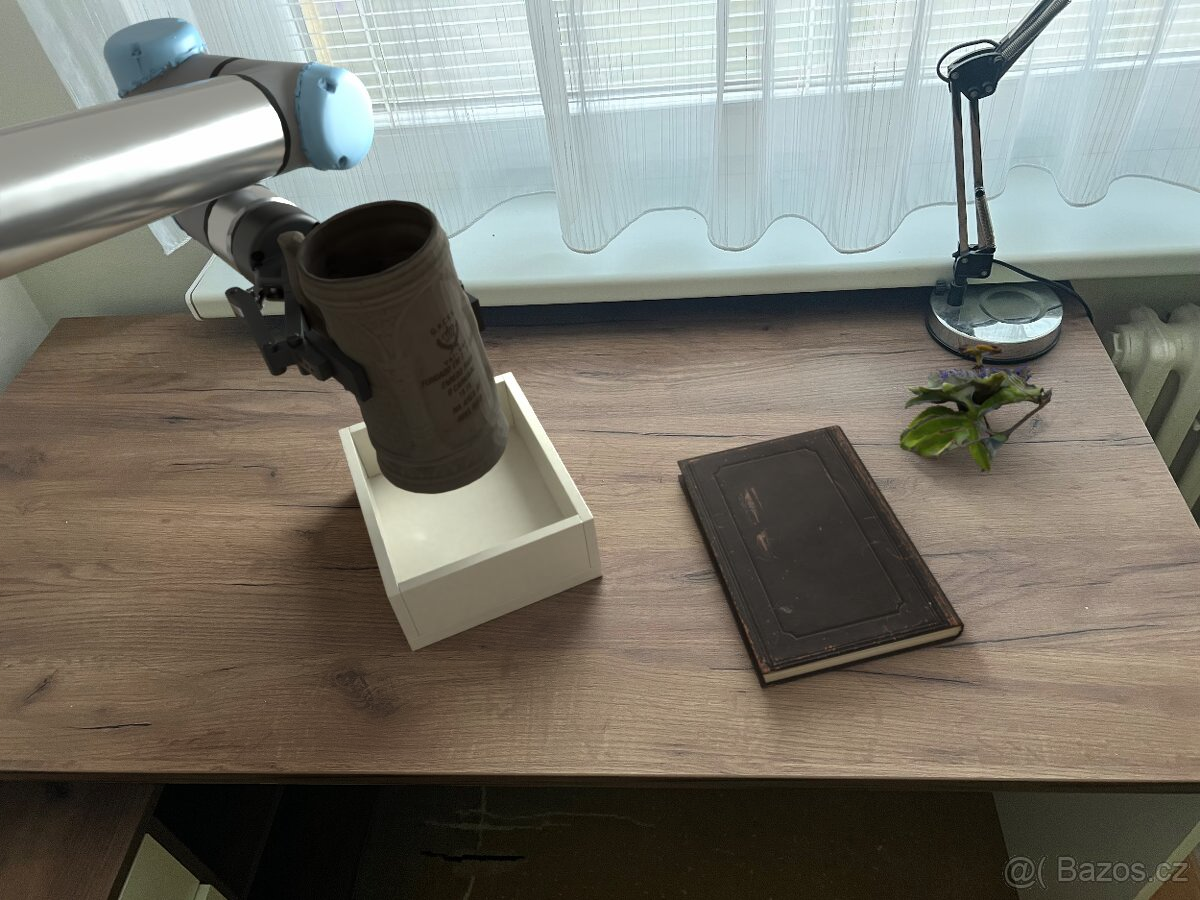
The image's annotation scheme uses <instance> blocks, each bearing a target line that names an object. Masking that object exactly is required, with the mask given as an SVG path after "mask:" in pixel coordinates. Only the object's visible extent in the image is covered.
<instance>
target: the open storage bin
mask: <svg viewBox="0 0 1200 900" xmlns="http://www.w3.org/2000/svg"><path fill="white" fill-rule="evenodd" d="M494 379H495V382H496V386H497V393H498V396H499V400H500V408H501V410H502V411H503V413H504V415H505V417H506V418H507V421H508V425H509V435H508V443H507V446H506V448H505V451H504V453H503V455H502V456H501V458H500V460H499V461H498V463H497V464H496V465H495V466H494V467H493V468H492V469H491V470H490V471H489V472H487V473H486V474H485V475H484V476H483V477H481V478H480V479H478V480H476V481H474V482H473V483H471V484H469V485H467V486H464V487H462V488H459V489H457V490H453V491H449V492H445V493H439V494H420V493H413V492H409V491H405V490H403V489H400V488H398V487H396V486H394V485H393V484H392V483H390V482H389V481H388V480H387V479H386V478H385V477H384V475H383V474H382V472H381V470H380V468H379V465H378V462H377V457H376V450H375V449H374V447H373V446H372V444H371V441H370V439H369V436H368V432H367V428H366V425H365V422H364V421H361V422H359V423H355V424H352V425H349V426H347V427H344V428H341V429H337V433H338V436H339V439H340V443H341V446H342V450H343V453H344V455H345V459H346V463H347V466H348V470H349V473H350V476H351V480H352V483H353V486H354V489H355V493H356V497H357V499H358V504H359V506H360V509H361V513H362V517H363V520H364V523H365V526H366V530H367V533H368V536H369V539H370V544H371V546H372V550H373V554H374V556H375V560H376V564H377V566H378V570H379V573H380V578H381V580H382V583H383V587H384V590H385V593H386V597H387V599H388V601H389V604H390V606H391V608H392V611H393V612H394V615H395V616H396V619H397V621H398V623H399V625H400V628H401V630H402V632H403V634H404V637H405V639H406V641H407V643H408V645H409V648H410V650H411V651H412V652H415V651H418V650H421V649H423V648H425V647H428V646H430V645H433V644H435V643H438V642H440V641H443V640H446V639H448V638H450V637H452V636H455V635H457V634H460V633H462V632H465V631H468V630H470V629H472V628H475V627H477V626H480V625H482V624H485V623H488V622H490V621H492V620H495V619H498V618H499V617H503V616H504V615H507V614H510V613H513V612H514V611H517V610H519V609H522V608H524V607H527V606H530V605H532V604H535V603H537V602H540V601H543V600H544V599H548V598H550V597H552V596H555V595H556V594H559V593H562V592H564V591H568V590H569V589H572V588H574V587H577V586H579V585H582V584H584V583H587V582H589V581H592V580H595V579H597V578H599V577H601V576H603V575H604V573H603V572H604V571H603V566H602V559H601V554H600V548H599V542H598V535H597V528H596V522H595V517H594V515H593V514H592V512H591V510H590V509H589V506H587V503H586V501H585V500H584V498H583V496H582V494H581V492H580V491H579V489H578V487H577V486H576V483H575V482H574V480H573V478H572V477H571V475H570V474H569V471H568V470H567V468H566V466H565V465H564V462H563V461H562V459H561V457H560V456H559V453H558V452H557V450H556V448H555V447H554V445H553V443H552V441H551V440H550V438H549V436H548V435H547V433H546V431H545V429H544V428H543V426H542V424H541V422H540V420H539V418H538V416H537V415H536V414H535V411H534V409H533V408H532V405H530V403H529V401H528V399H527V398H526V396H525V394H524V392H523V390H522V389H521V387H520V385H519V383H518V382H517V380H516V378H515V376H514V375H513V373H512V372H511V371H509V372H505V373H503V374H500V375H496V376H494Z"/></svg>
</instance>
